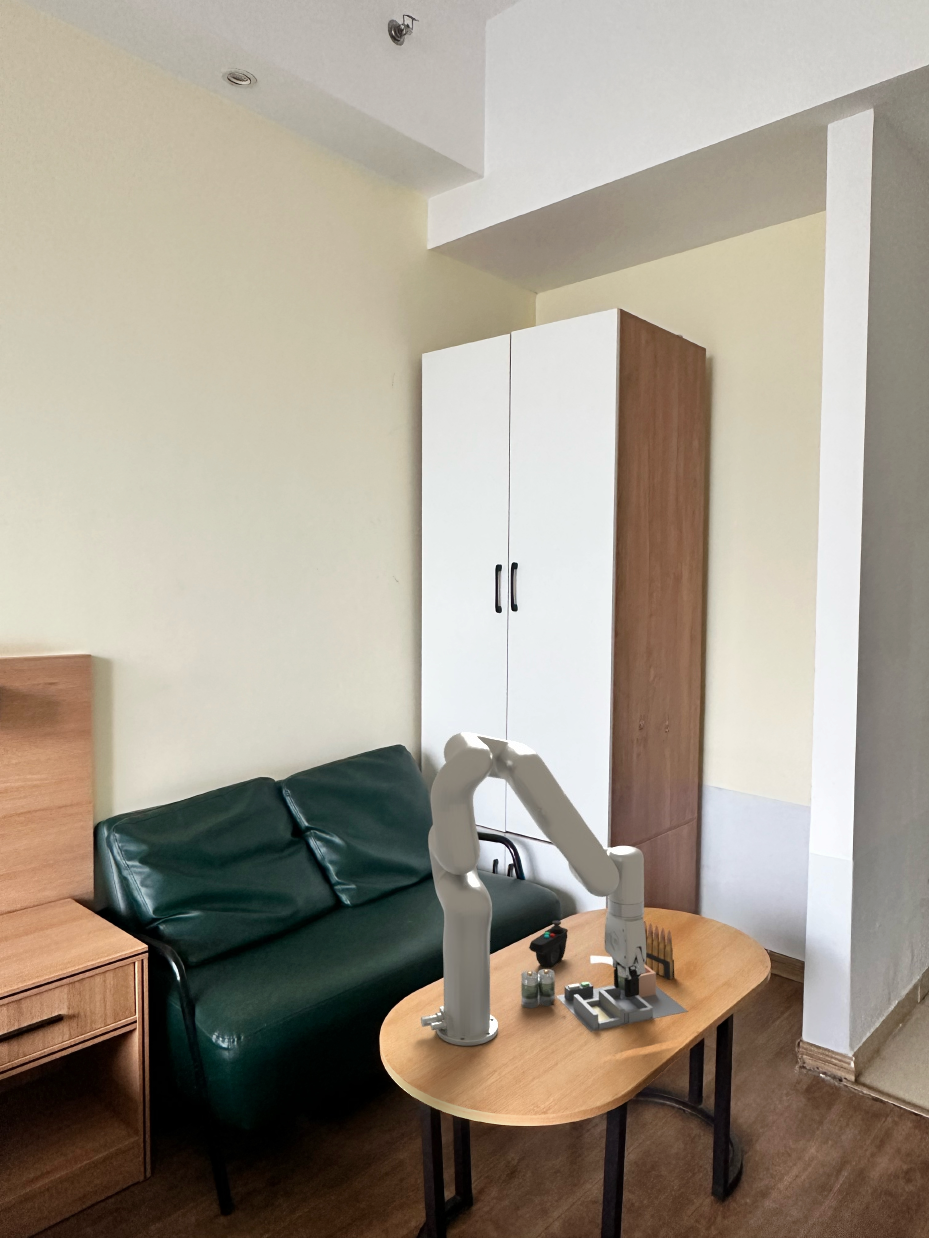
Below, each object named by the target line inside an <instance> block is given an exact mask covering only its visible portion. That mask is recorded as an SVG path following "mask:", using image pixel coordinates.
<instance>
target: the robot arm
mask: <svg viewBox="0 0 929 1238" xmlns="http://www.w3.org/2000/svg"><path fill="white" fill-rule="evenodd" d="M443 758H444V761H445V763H444V764H443V765H442V767H441V768H440V769H439V771H438V772H437V774H436V776H435V778H434V780H433V783H432V786H431V790H430V807H431V809H430V810H431V818H432V826H431V827H430V829H429V832H428V838H427V840H428V843H427V844H428V852H429V858H430V865H431V870H432V872H431V873H432V877H433V882H434V888H435V893H436V895H437V899H438V900H439V902H440V905H441V908H442V911H443V914H444V916H443V917H444V921H443V922H444V925H443V926H444V927H443V938H442V939H443V940H442V942H443V943H442V955H443V956H442V958H443V1005H442V1006H439V1011H438V1012H435V1014H432V1015H425V1016H421V1017H420V1024H421V1027H422V1028H425V1027H429V1026H430V1030H431V1031H436V1034H437V1035H438V1037H439V1038H440V1039H441V1040H443V1041H445V1042H447V1043H449V1044H452V1045H456V1046H467V1047H469V1046H472V1047H473V1046H477V1045H482V1044H485V1043H488V1042H489V1041H491V1040H492V1039H494V1038H495V1037H496V1035H497V1034H498V1032H499V1024H498V1021H497V1019H496V1018H495V1017H494V1016H492V1015H491V953H490V952H491V951H490V950H491V942H490V941H491V927H492V918H493V906H492V905H493V904H492V899H491V896H490V893H489V891H488V889H487V888H486V886H485V884H484V883H483V881H482V880H481V879H480V877H479V874H478V869H477V865H478V864H479V861H480V857H481V846H480V841H479V834H478V829H477V824H476V818H475V808H474V796H475V792H476V790H477V788H478V787H479V786H480V784H482V782H483V781H484V780H486V779H487V777H488V778H494V779H501V780H504V781H505V782H506V783H507V784H508V785H509V787H510V788H511V790H512V791H513V793H514V794H515V795H516V797H517V798H518V799H519V801H520V803H521V804H522V806H523V807H524V808H525V810H526V811H527V812H528V815H529V816H530V817H531V818H532V820H533V821H534V823H535V824H536V826H537V827H538V829H539V830H540V831H541V833H542V834H543V835H544V836H545V837H546V838H547V839H548V841H550V842H551V844H553V846H554V847H556V849H557V850H559V852H560V854H562V856H563V857H564V858H565V860H566V861H567V863H568V865H567V866H568V870H569V872H570V873H571V875H572V876H573V878H575V879H576V880H577V882H578V883H580V884H581V885H582V887H584V889H585V890H586V891H587V892H588V893H590V894H591V895H593V896H595V897H598V898H604V897H605V898H606V897H607V910H606V915H605V925H604V950H605V952H606V953H607V954H608V955H609V957H612V959H613V966H612V968H613V985H614V987H615V988H619V983H618V967H617V965H618V964H619V963H620V964H621V965H623V966H624V967H626V978H624V985H625V996H626V997H632V996H637V995H639V978H640V975H641V974H643V973H646V970H645V966H644V964H645V961H646V937H645V927H644V921H645V920H644V916H645V865H644V864H645V861H644V860H645V859H644V857H645V856H644V854H643V852H642V850H641V849H639V848H637V847H634V846H631V845H630V846H628V845H619V846H615V847H603V845H602V844H601V842H600V841H599V840H598V838H597V837H596V835H595V834H594V832H593V831H592V830H591V829H590V827H589V826H588V824H587V823H586V822H585V820H584V818H583V816H582V815H581V814H580V813H579V811H578V810H577V808H576V807H575V805H574V804H573V802H571V800H570V798H569V797H568V796H567V794H566V793H565V791H564V790H563V789H562V787H561V786H560V784H559V782H558V781H557V779H556V778H555V777H554V775H553V773H552V772H551V770H550V769H549V768H548V766H547V765H546V763H545V761H544V760H543V759H542V758H541V757H540V755H539V754H538V753H537V752H535V751H534V750H533V749H532V748H530V747H528V746H527V745H526V744H523V743H521V742H520V743H519V742H516V741H511V740H508V739H507V740H506V739H500V738H498V737H497V738H495V737H491V736H487V735H481V734H477V733H473V732H472V733H471V732H459V733H456V734H453V735H452V736H450V738H448V740H447V741H446V743H445V745H444V748H443ZM634 960H635V962H634ZM630 967H635V969H633V970H632V971H631V968H630Z"/></svg>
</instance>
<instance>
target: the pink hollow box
mask: <svg viewBox="0 0 929 1238" xmlns="http://www.w3.org/2000/svg"><path fill="white" fill-rule="evenodd" d="M644 966H645V970H646V973H643V974H641V975H640V978H639V996H640V997H645V996H650V995H655V994H656V986H657V974H656V973H655V972H654V971H653V970H651V969H650V968H649V967H648V966H646V965H645V964H644Z"/></svg>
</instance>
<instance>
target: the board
mask: <svg viewBox="0 0 929 1238" xmlns="http://www.w3.org/2000/svg"><path fill="white" fill-rule="evenodd" d="M555 998H557V999H558V1000H559V1001H560V1002H561V1003H562V1004H563V1005H564V1006H565V1007H566V1008H567V1009H568V1010H569V1011H570V1012H571V1013H572V1015H574V1016H575V1017H576V1018H577V1020H578V1021H579V1022H581V1023H582V1025H584V1027H586V1029H587V1030H589V1031H590V1032H595V1031H601V1030H606V1029H610V1028H611V1029H612V1028H616V1027H619V1026H625V1025H631V1024H634V1023H639V1022H643V1021H648V1020H654V1019H659V1018H662V1017H663V1018H664V1017H667V1016H672V1015H678V1014H683V1013H687V1012H689V1011H688V1010H687V1009H686V1008H685V1007H683V1006H682V1004H679V1002H677V1001H676V1000H675V999H673V997H671V996H670V995H669V994H667V993H666V992H665V991H664V990H662V989H661V988H660V987H658V986H657V985H656V994H655V995H650V996H645V997H640V996H639V995H637V997H636V998H635V999H633V1000H624V999H621V998H620V996H619V988H615V987H614V984H612V985H605V986H602V987H596V988H594V985H593V984H592V983H591V982H590V981H583V982H580V983H573V984H568V985H564V994H558V995H556V996H555Z"/></svg>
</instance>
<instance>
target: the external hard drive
mask: <svg viewBox="0 0 929 1238" xmlns="http://www.w3.org/2000/svg"><path fill="white" fill-rule="evenodd" d="M589 956H590V958H589V959H590V964H598V963H603V964H608V965H610V966H612V967H613V959H612V957H611V956H603V955H589Z"/></svg>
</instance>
